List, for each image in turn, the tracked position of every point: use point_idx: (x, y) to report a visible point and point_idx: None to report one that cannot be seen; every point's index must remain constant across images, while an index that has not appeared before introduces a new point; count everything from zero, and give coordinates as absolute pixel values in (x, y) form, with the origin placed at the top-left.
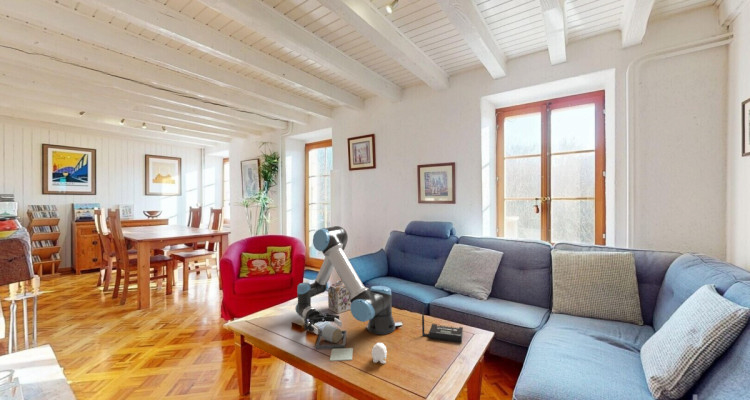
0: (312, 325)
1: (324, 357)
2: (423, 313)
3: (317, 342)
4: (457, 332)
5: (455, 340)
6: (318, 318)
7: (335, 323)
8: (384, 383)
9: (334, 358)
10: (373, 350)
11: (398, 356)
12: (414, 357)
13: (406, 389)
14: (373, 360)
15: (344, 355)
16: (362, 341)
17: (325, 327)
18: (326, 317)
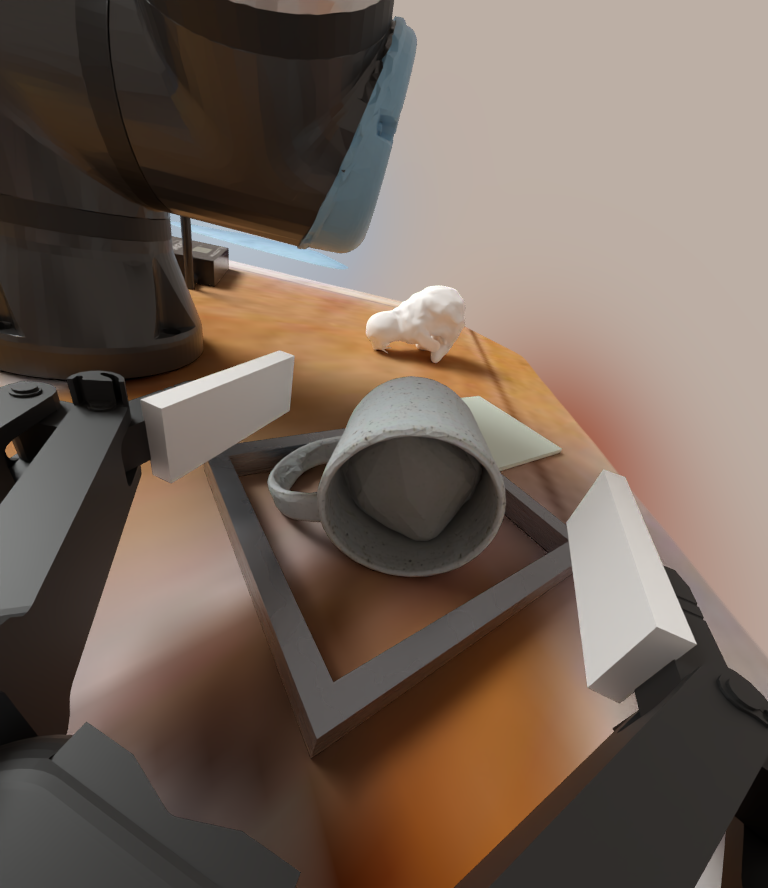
0: (666, 592)
1: (569, 480)
2: None
3: (552, 568)
4: (203, 244)
5: (226, 265)
6: (175, 830)
7: (199, 464)
8: (491, 351)
9: (535, 438)
10: (464, 312)
11: (363, 330)
12: (348, 315)
13: (473, 334)
14: (440, 355)
15: (482, 416)
16: (308, 389)
17: (481, 444)
18: (61, 567)
